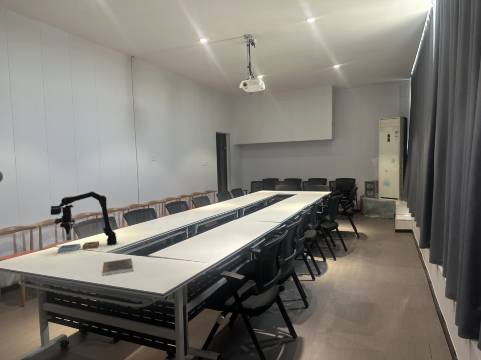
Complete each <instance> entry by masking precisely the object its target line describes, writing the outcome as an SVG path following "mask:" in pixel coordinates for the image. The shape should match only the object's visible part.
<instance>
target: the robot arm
mask: <svg viewBox="0 0 481 360" xmlns="http://www.w3.org/2000/svg"><path fill="white" fill-rule="evenodd" d="M88 198H93V199H95V200H97V201H98V204H99V205H100V207H101V212H102V216H103V217H102V218H103V221H104V223H103V224H104V226H103V227H102V228H103V234H104V235H105V236H106V237H107V239H106V244H107V246H113V245H117V244H118V242H117V240H118V239H117V235H116V231H114V230H113V227H112V225H111V222H110V218H109V213H108V208H107V207H108V206H107V204H108V203H107V197H106V196H105V195H101V194H98V193H96V192H95V191H90V192H86V193H82V194H78V195H74V196H72V195H70V196H65V197H63V198H61V202H60V204H59V205H51V206H50V215H51V216H55V215H57V216H59V215H60V214H62V216H61V217H60V218H57V217H56V218H54V224H55V225H58V224H59V227H60V228H64V230H65V234H66V233H67V235H69V232H70V229H71V230H72V229H73V226H74V223H75V222H76V220H75V219H74V218H72V216H73V214H72V208H74V207H75V206H74V205H73V204H72V203H74V202H76V201H77V202H78V201H81V200H84V199H88Z"/></svg>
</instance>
